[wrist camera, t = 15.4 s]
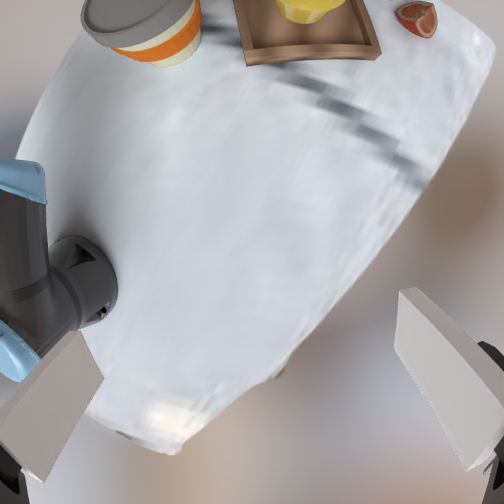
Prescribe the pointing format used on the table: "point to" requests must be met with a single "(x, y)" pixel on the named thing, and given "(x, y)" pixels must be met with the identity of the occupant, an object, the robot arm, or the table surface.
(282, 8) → the plant pot
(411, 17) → the fruit slice
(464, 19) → the table surface
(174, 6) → the reusable coffee cup
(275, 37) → the walnut tray
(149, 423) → the table surface
